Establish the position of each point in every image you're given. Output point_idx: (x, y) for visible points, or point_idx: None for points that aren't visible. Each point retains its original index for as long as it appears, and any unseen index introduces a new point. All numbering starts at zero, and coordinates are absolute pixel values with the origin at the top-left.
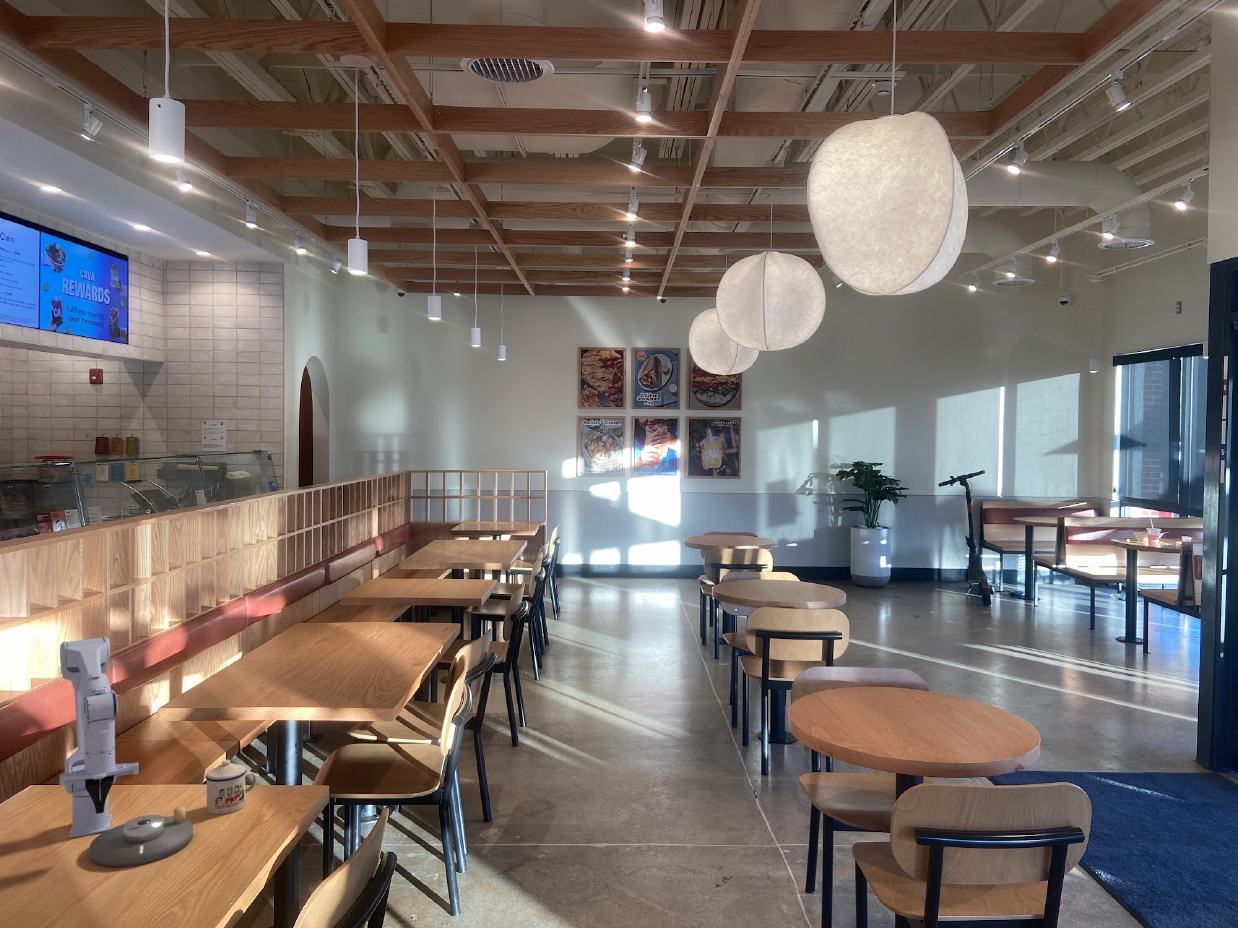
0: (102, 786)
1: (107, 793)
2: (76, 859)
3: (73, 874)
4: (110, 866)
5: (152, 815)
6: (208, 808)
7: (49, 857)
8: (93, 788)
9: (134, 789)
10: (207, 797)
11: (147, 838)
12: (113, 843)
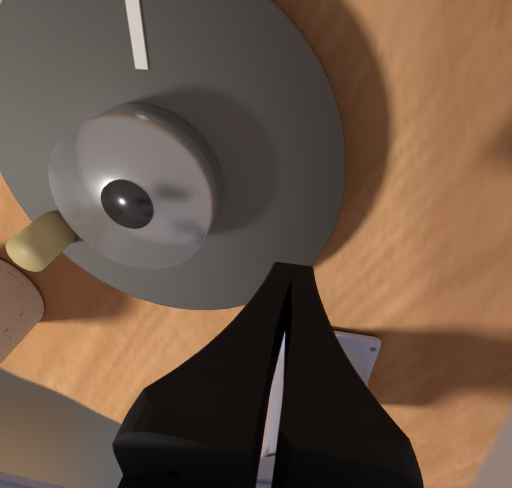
0: (234, 405)
1: (217, 338)
2: (387, 179)
3: (427, 20)
4: (274, 2)
5: (111, 253)
6: (25, 290)
7: (461, 248)
8: (328, 417)
9: None
10: (7, 318)
11: (120, 106)
12: (257, 169)
